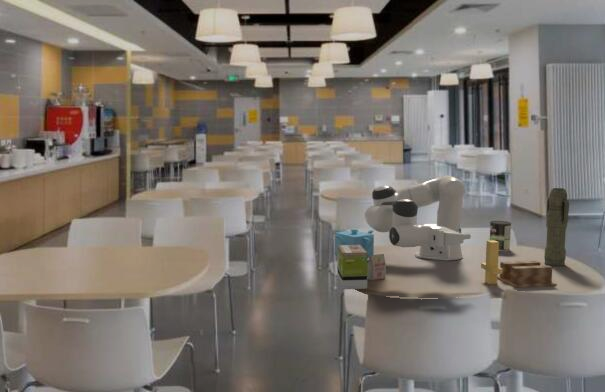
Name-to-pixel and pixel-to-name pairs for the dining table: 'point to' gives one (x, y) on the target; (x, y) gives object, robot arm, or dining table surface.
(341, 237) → the teakettle
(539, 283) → the rack
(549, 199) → the thermos
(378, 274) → the pink milk carton
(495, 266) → the yellow tall bar
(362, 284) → the tea box
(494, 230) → the coffee can
